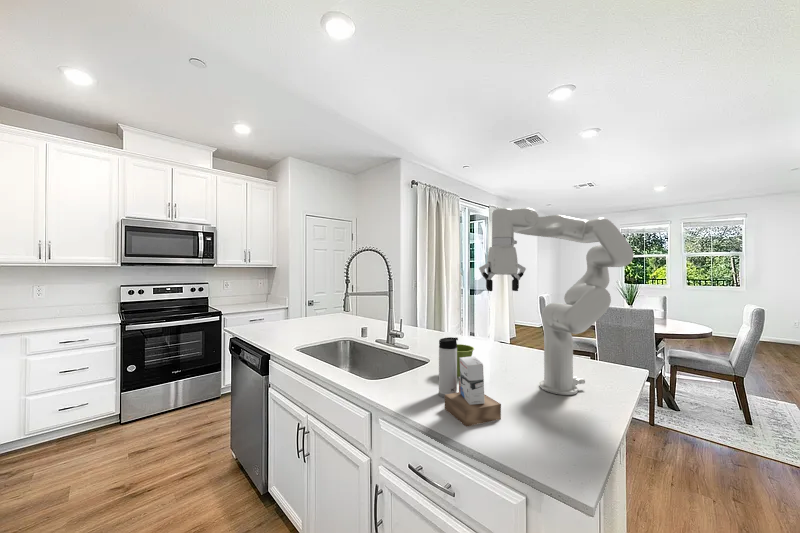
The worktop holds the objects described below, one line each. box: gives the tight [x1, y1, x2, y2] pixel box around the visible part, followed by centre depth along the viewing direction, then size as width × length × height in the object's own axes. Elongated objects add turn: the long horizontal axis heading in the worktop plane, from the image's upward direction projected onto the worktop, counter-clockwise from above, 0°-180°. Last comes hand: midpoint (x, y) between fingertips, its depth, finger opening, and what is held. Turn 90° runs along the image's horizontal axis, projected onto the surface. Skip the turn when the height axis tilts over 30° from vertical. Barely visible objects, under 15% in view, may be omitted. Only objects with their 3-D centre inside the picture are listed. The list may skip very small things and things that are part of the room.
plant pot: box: [457, 343, 475, 378], centre depth 131 cm, size 12×12×11 cm
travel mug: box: [438, 337, 459, 399], centre depth 110 cm, size 6×7×20 cm
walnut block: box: [444, 391, 502, 428], centre depth 96 cm, size 12×12×5 cm
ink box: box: [460, 355, 485, 405], centre depth 96 cm, size 8×5×12 cm, turn 7°
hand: (502, 290), depth 113 cm, fingers open, 9 cm apart
